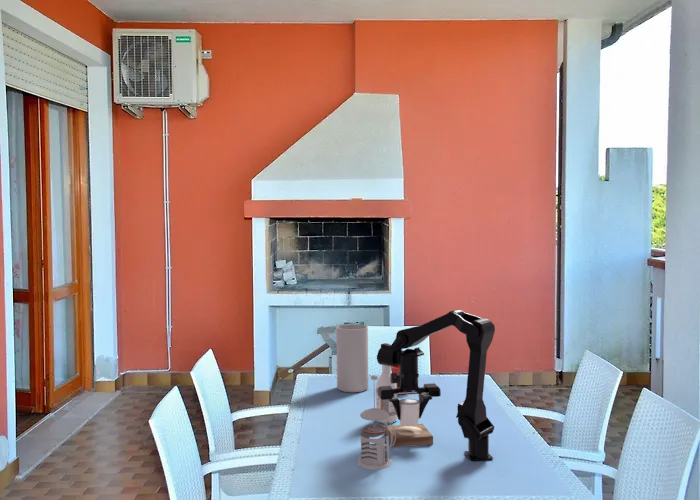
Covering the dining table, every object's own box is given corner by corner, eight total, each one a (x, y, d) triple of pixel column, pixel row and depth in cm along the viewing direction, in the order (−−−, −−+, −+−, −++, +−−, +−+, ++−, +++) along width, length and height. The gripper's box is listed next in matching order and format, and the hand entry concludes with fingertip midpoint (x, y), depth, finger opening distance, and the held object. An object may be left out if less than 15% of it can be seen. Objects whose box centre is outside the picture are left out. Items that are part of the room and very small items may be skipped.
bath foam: (373, 418, 225) (373, 360, 224) (392, 416, 227) (392, 359, 226) (380, 424, 219) (380, 365, 217) (400, 422, 221) (399, 363, 219)
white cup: (419, 427, 200) (419, 404, 200) (396, 426, 202) (396, 403, 201) (421, 420, 207) (421, 398, 207) (399, 419, 208) (399, 397, 208)
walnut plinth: (433, 444, 200) (433, 435, 199) (394, 447, 198) (394, 438, 198) (422, 431, 211) (422, 423, 211) (386, 433, 210) (386, 425, 209)
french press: (371, 453, 193) (370, 369, 191) (404, 462, 185) (403, 374, 184) (350, 463, 185) (349, 375, 184) (383, 473, 178) (382, 382, 176)
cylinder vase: (332, 391, 259) (332, 328, 258) (342, 383, 271) (341, 323, 270) (363, 394, 256) (362, 330, 254) (371, 385, 268) (371, 324, 266)
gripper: (430, 361, 213) (431, 409, 214) (374, 364, 210) (374, 413, 211) (440, 369, 202) (441, 420, 203) (381, 372, 199) (381, 423, 200)
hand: (409, 418), depth 204 cm, fingers closed on white cup, 6 cm apart
